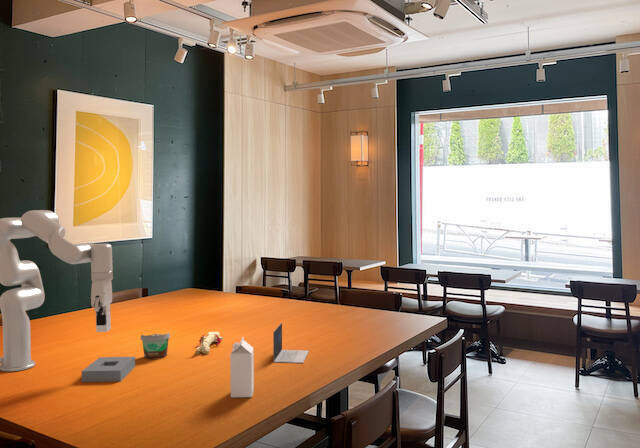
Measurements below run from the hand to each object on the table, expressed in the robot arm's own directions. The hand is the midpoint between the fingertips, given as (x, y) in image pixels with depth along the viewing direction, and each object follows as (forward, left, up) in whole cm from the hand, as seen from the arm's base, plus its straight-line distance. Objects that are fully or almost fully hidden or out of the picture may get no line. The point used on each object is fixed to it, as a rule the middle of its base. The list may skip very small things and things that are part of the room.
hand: (103, 323), depth 200 cm
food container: (+14, +22, -20) cm, 33 cm away
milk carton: (+55, -24, -20) cm, 63 cm away
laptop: (+72, +20, -20) cm, 77 cm away
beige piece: (+34, +38, -20) cm, 55 cm away
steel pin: (0, 0, -3) cm, 3 cm away
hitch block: (+2, +1, -20) cm, 20 cm away
